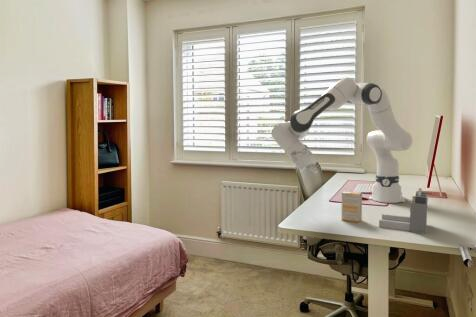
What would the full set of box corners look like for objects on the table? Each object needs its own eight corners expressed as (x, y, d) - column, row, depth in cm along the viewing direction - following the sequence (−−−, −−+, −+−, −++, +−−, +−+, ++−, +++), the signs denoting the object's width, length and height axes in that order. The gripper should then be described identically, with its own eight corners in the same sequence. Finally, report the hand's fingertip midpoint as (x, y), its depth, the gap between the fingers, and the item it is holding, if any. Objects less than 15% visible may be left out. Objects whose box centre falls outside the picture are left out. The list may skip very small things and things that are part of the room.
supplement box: (361, 220, 170) (362, 191, 169) (359, 222, 166) (360, 193, 165) (343, 217, 175) (344, 190, 173) (340, 220, 171) (341, 192, 169)
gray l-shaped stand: (382, 219, 171) (383, 184, 169) (426, 224, 163) (428, 188, 161) (378, 227, 159) (379, 190, 157) (425, 233, 150) (427, 194, 148)
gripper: (294, 148, 168) (315, 171, 165) (307, 145, 186) (326, 165, 183) (284, 158, 171) (305, 180, 168) (298, 153, 189) (317, 174, 186)
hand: (316, 172), depth 176 cm, fingers closed
